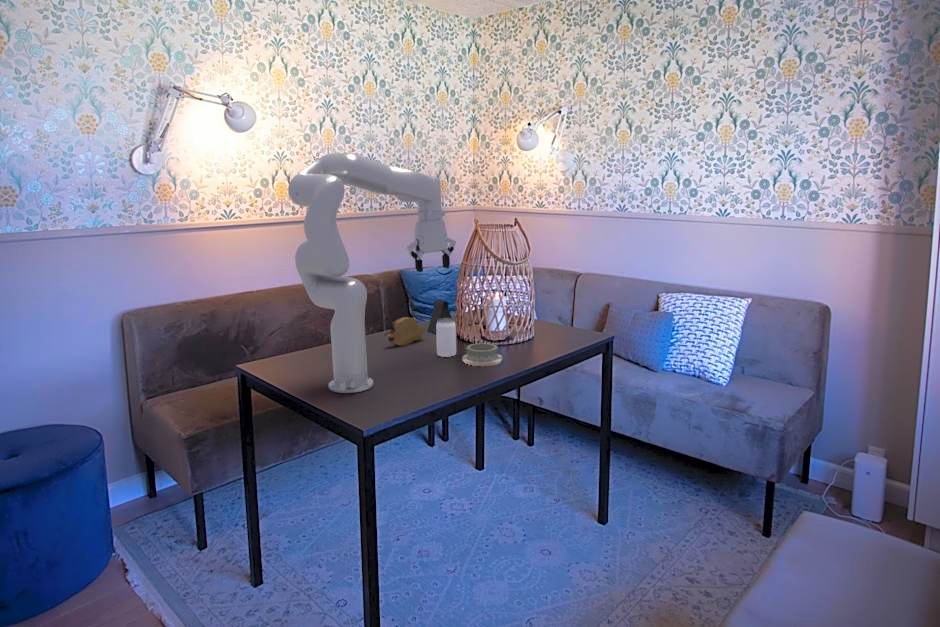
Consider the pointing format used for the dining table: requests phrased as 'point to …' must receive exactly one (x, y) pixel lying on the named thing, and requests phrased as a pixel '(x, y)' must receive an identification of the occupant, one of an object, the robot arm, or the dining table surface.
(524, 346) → the dining table surface
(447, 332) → the can
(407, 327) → the wooden carving
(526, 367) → the dining table surface
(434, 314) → the phone stand
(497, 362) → the cup holder
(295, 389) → the dining table surface
